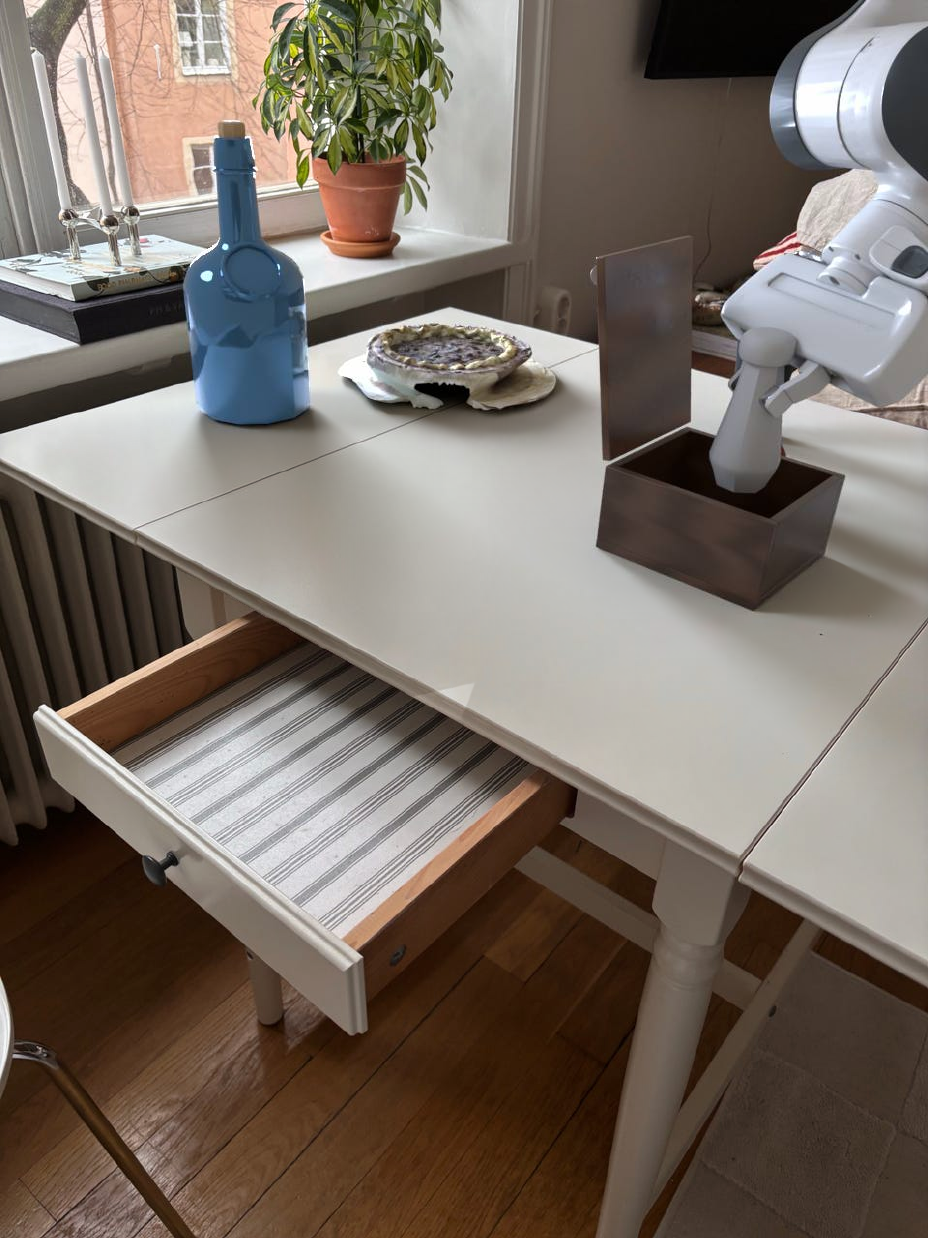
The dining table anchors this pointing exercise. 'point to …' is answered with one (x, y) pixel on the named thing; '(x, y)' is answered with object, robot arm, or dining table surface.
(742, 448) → the salt shaker
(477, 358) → the pie
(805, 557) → the chest
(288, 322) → the wine bottle
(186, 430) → the dining table surface
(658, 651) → the dining table surface
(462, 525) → the dining table surface
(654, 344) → the chest lid
